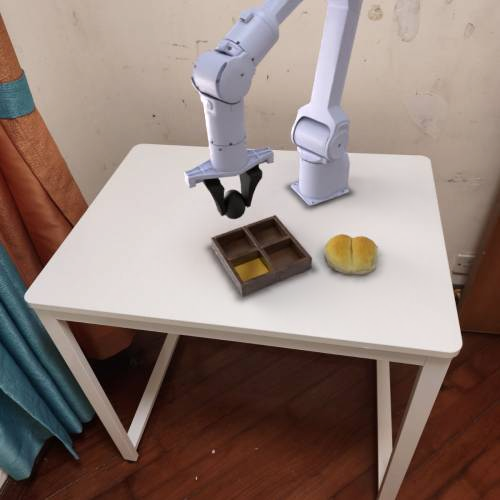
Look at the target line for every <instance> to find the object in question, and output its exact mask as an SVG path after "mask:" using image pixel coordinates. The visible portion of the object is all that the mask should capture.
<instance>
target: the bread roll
mask: <svg viewBox="0 0 500 500" xmlns="http://www.w3.org/2000/svg"><path fill="white" fill-rule="evenodd" d="M378 249H379V246H378V245H377V244H376V243H375V241H374V240H372V239H371V238H369V237H367V236H363V235H361V236H355V237H351V236H350V235H348V234H343V233H342V234H341V233H340V234H336V235H334V236H332V237H331V238H330V239H329V240H328V241H327V243H326V245H325V247H324V253H323V254H324V258H325V260H326V262H327V264H328V265H329V266H330V267H331V268H332V269H333V270H335V271H336V272H339V273H341V274H354V275H365V274H368V273H370V272H372V271H373V270H374V269H376V267H377V262H378Z"/></svg>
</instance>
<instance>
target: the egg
mask: <svg viewBox="0 0 500 500" xmlns="http://www.w3.org/2000/svg"><path fill="white" fill-rule="evenodd" d="M224 204H225V210H226V215H225V216H226V217H227V218H228V219H231V220H239V219H240V218H242V217H243V216H244V214H245V213H246V209H247V207H246V203H245V199H244V197H243V195H242V194H241V191H239V190H237V189H232V188H231V189H229V190H227V191H226V192H225V193H224Z"/></svg>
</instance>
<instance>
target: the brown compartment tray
mask: <svg viewBox="0 0 500 500" xmlns="http://www.w3.org/2000/svg"><path fill="white" fill-rule="evenodd" d="M210 242H211V248H212V250H213V252H214V253H215V255H216V256H217V258H218V260H219V261H220V263H221V264H222V266H223V268H224V269H225V271H226V273H227V274H228V276H229V277H230V279H231V281H232V282H233V284H234V286H235V287H236V288H237V290H238V292H239V293H240V296H241V297H245V296H246V295H249V294H252V293H255V292H256V291H259V290H263V289H264V288H267V287H269V286H272V285H274V284H277V283H279V282H282V281H284V280H286V279H290V278H291V277H295V276H297V275H299V274H302V273H304V272H307V271H309V270H311V269H312V265H313V257H312V256H311V255H310V254H309V252H308V251H307V250H306V249H305V248H304V246H303V245H302V243H300V242H299V241H298V239H297V238H296V237H295V236H294V234H292V233H291V232H290V230H289V229H288V228H287V227H286V226H285V224H284V223H283V222H282V221H281V219H279V217H278V216H277V214H273V215H271V216H268V217H265V218H262V219H260V220H257V221H254V222H252V223H248V224H246V225H243V226H240V227H237V228H234V229H232V230H228V231H226V232H223V233H220V234H217V235H215V236H211V237H210Z"/></svg>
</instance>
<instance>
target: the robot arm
mask: <svg viewBox="0 0 500 500" xmlns="http://www.w3.org/2000/svg"><path fill="white" fill-rule="evenodd" d="M303 1H304V0H264V2H263V3H262V4H261V6H260V7H249V8H247V9H246V10H245V9H244V10H242V12H241V13H240V14H239V15H238V20H237V21H236V23H235V24H234V25H233V26H232V28H231V29H230V30H229V31H228V32H227V33H226V35H225V36H224V37H223V38H222V39H221V40H220V41H219V42H218V43H217V45H216V46H215V48H214V49H208V50H205V52H203V53H202V54H200V55H199V56H198V57H197V59H196V60H195V63H194V64H193V69H192V75H191V76H190V82H191V85H192V87H193V88H194V89H195V90H196V91H197V92H198V94H199V97H200V102H201V103H202V105H203V112H204V118H205V119H204V120H205V126H206V133H207V140H208V149H209V155H210V158H209V159H207V160H206V161H204V162H202V163H201V164H198V165H196V166H195V167H193V168H191V169H188V170H185V171H184V172H183V175H184V181H185V183H186V185H187V186H188V188H189V189H193V188H195V187H196V186H197V184H200V183H203V185H204V186H205V188H206V190H207V191H208V192H209V193H210V195H211V197H212V199H213V201H214V204H215V206H216V210H217V211H218V213H219V215H220V216H221V217H225V216H226V210H225V204H224V195H225V190H226V188H225V186H224V185H223V184H222V183H221V179H222V178H231V177H239V183H240V193H241V194H242V195H243V197H244V199H245V203H246V209H247V208H250V207H251V206H252V201H253V197H254V194H255V191H256V188H257V187H258V185H259V183H260V182H261V180H262V178H263V170H262V169H261V168H260V165H262V164H265V163H266V164H268V165H269V164H273V163H275V161H274V160H275V157H274V156H275V155H274V151H273V150H272V149H271V148H270V147H269V146H266V147H262V148H261V147H260V148H254V149H253V148H252V149H248V145H247V142H248V141H247V131H246V117H245V115H246V114H245V101H244V99H245V98H244V97H246V96H247V95H248V93H249V91H250V89H251V85H252V81H253V78H254V76H255V75H256V71H257V67H258V66H259V64H260V63H261V62H262V61H263V60H264V59H265V57H266V56H267V55H268V54H269V53H270V51H271V50H272V49H273V48H274V46H275V45H276V44H277V42H278V41H279V38H280V26H281V24H282V23H283V22H284V21H285V20H286V19H287V18H288V17H289V16H290V15H291V14H292V13H293V12H294V11H295V10H296V9H297V8H298V6H299V5H301V4H302V2H303ZM325 1H326V3H327V8H326V9H327V10H326V14H325V21H324V24H323V25H324V26H323V29H322V37H321V41H320V48H319V53H318V57H317V64H316V68H315V75H314V80H313V86H312V91H311V97H310V101H309V102H308V103H306V104H304V105H302V106H301V107H299V109H298V110H297V115H296V119H295V121H294V123H293V125H292V127H291V130H290V131H291V132H290V139H291V142H292V144H294V145H295V146H296V152H298V153H299V174H298V175H299V178H298V179H299V180H298V181H297V182H295V183H292V184H290V188H291V189H292V190H293V191H294V192H295V193H296V194H297V195H298V197H300V198H301V200H303V201H304V202H305V203H306V204H307V205H308V206H309V207H313V206H315V205H318V204H322V203H324V202H326V201H329V200H332V199H335V198H338V197H341V196H344V195H346V194H349V193H350V189H349V188H348V183H349V175H350V167H351V166H350V165H351V163H350V162H351V161H350V157H349V154H348V151H347V149H348V145H349V142H350V134H349V133H350V132H349V131H350V130H349V129H350V123H351V120H350V118H349V116H348V115H347V113H346V112H345V110H344V109H343V108H342V106H341V101H342V97H343V92H344V88H345V84H346V79H347V74H348V70H349V65H350V60H351V57H352V52H353V48H354V44H355V38H356V34H357V30H358V25H359V21H360V15H361V12H362V6H363V4H364V3H363V1H364V0H325Z"/></svg>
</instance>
